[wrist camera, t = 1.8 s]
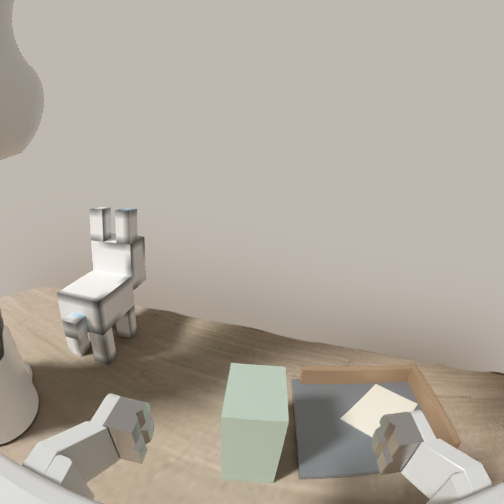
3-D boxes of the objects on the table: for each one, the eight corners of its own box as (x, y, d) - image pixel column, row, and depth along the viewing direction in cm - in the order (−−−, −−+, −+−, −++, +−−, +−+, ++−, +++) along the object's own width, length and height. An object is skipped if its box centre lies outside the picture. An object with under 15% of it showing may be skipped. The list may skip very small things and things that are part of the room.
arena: (298, 479, 23) (304, 464, 22) (291, 382, 38) (294, 365, 38) (449, 457, 23) (461, 441, 22) (408, 379, 38) (415, 363, 37)
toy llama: (61, 360, 36) (35, 226, 30) (114, 311, 53) (106, 204, 47) (100, 374, 35) (78, 229, 30) (148, 317, 52) (144, 206, 46)
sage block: (221, 479, 23) (221, 416, 20) (228, 429, 30) (231, 362, 27) (273, 482, 23) (288, 421, 20) (273, 433, 29) (285, 366, 27)
